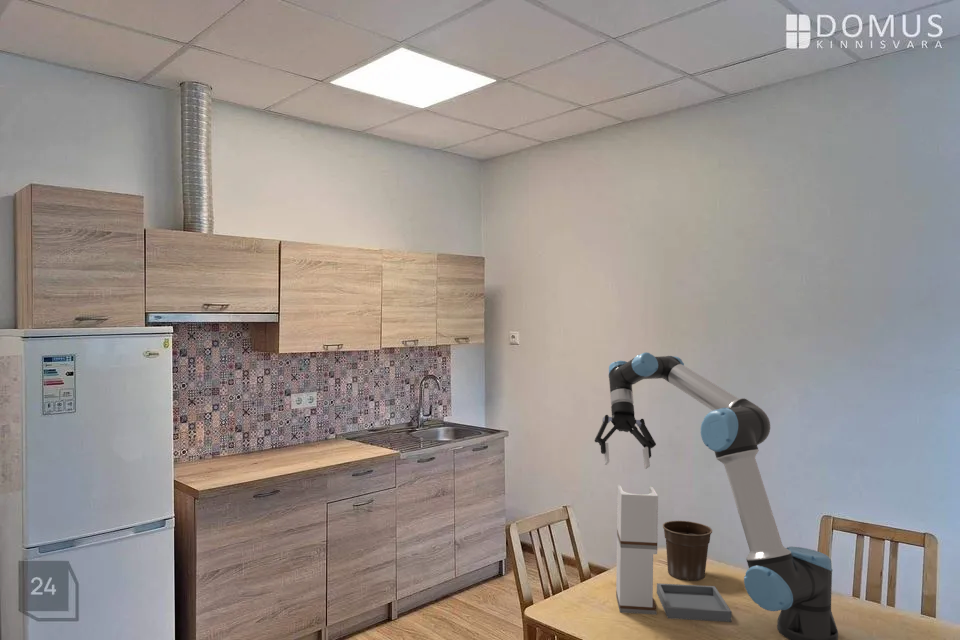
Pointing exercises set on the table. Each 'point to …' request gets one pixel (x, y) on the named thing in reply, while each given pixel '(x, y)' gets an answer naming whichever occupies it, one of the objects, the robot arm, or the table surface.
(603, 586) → the table surface
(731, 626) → the table surface
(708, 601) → the tray
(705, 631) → the table surface
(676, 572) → the plant pot
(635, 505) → the brown-banded white pillar
